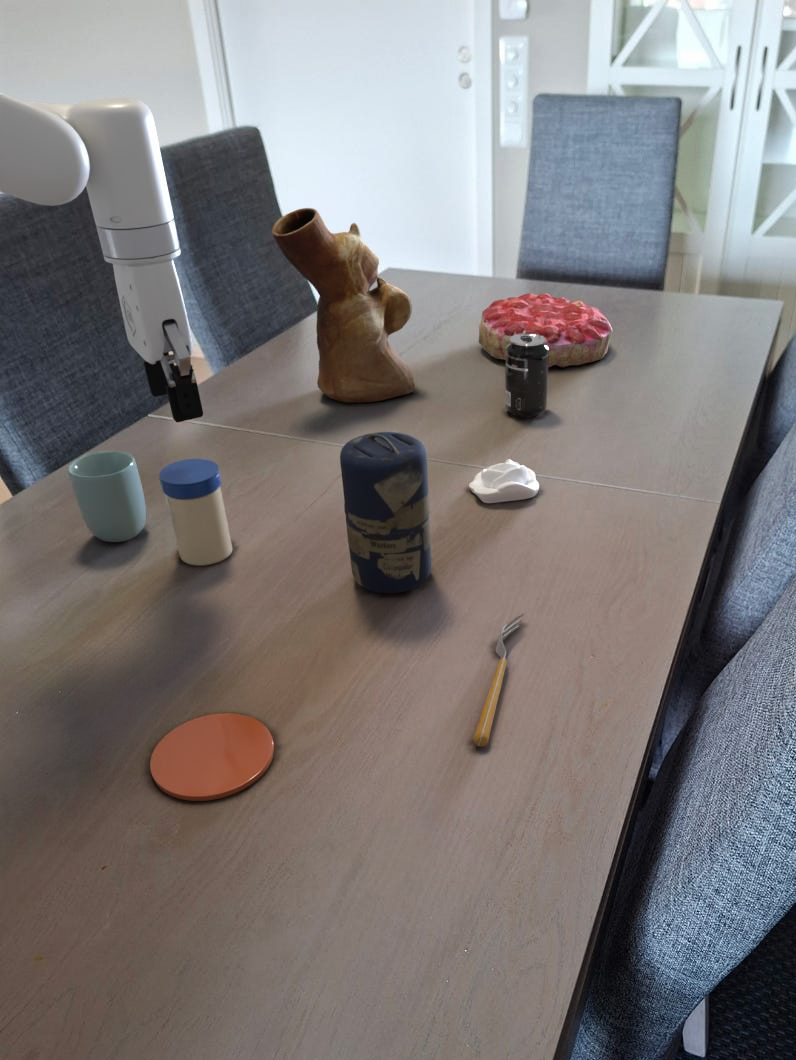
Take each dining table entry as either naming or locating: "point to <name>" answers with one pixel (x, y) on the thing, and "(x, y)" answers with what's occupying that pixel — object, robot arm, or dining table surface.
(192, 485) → the jam lid
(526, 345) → the beverage can
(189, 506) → the jam jar
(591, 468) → the dining table surface
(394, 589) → the canister
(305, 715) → the dining table surface
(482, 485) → the rose
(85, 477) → the cup
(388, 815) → the dining table surface
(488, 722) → the fork
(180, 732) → the coaster
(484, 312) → the cake
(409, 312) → the ceramic vessel
